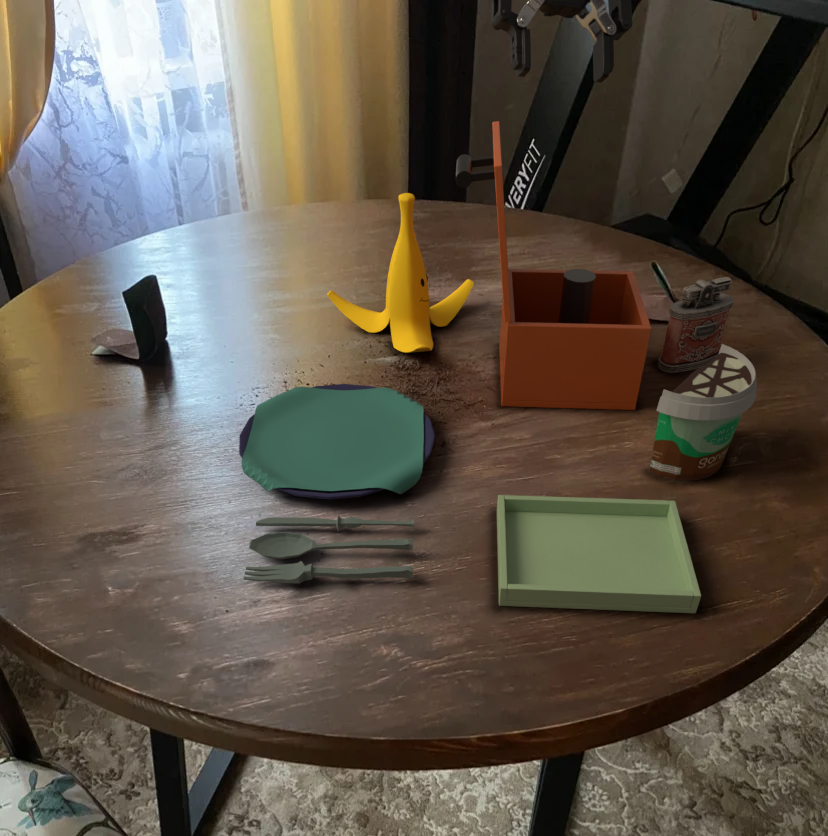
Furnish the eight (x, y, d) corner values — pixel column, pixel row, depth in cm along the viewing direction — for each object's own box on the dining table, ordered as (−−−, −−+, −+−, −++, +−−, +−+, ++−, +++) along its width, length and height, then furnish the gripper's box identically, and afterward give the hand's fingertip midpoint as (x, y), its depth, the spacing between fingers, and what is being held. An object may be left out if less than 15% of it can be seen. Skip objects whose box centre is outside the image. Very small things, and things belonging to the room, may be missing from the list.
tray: (670, 517, 78) (675, 500, 77) (695, 613, 69) (701, 595, 68) (496, 511, 79) (497, 494, 77) (498, 606, 70) (500, 588, 68)
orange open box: (619, 348, 102) (633, 271, 95) (635, 410, 92) (651, 328, 85) (499, 345, 102) (504, 268, 96) (501, 406, 92) (507, 325, 86)
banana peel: (474, 303, 111) (481, 172, 100) (426, 374, 97) (427, 232, 86) (359, 285, 115) (352, 157, 104) (298, 350, 102) (283, 212, 91)
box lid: (499, 120, 86) (455, 126, 86) (501, 165, 75) (452, 171, 76) (507, 264, 96) (468, 268, 96) (511, 321, 85) (467, 325, 86)
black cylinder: (581, 358, 98) (594, 268, 91) (584, 373, 96) (597, 282, 89) (552, 357, 99) (562, 268, 91) (554, 372, 96) (565, 281, 89)
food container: (697, 505, 79) (723, 417, 73) (640, 479, 82) (660, 391, 76) (756, 449, 86) (784, 363, 79) (701, 426, 89) (724, 341, 83)
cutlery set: (434, 398, 94) (434, 380, 92) (435, 590, 71) (436, 570, 70) (257, 397, 94) (254, 380, 92) (202, 588, 71) (197, 568, 70)
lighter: (669, 375, 97) (687, 294, 90) (651, 362, 99) (668, 282, 93) (724, 361, 99) (746, 281, 93) (706, 348, 102) (726, 269, 95)
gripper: (505, -132, 77) (510, 55, 79) (644, -113, 81) (646, 65, 83) (479, -83, 84) (484, 87, 86) (607, -67, 88) (609, 96, 90)
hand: (563, 76), depth 85 cm, fingers open, 8 cm apart
